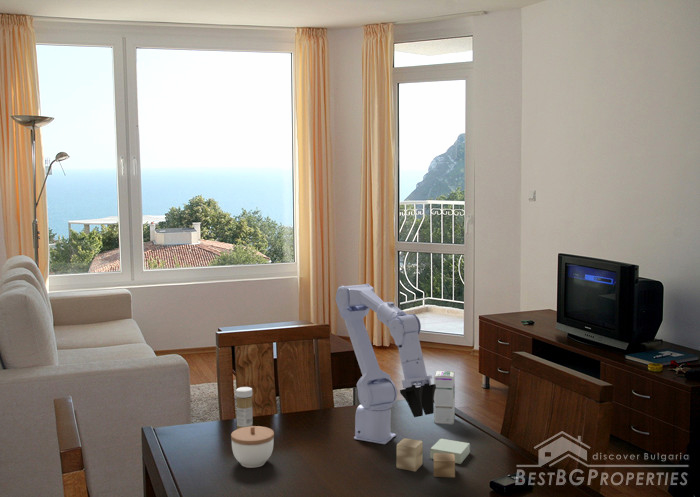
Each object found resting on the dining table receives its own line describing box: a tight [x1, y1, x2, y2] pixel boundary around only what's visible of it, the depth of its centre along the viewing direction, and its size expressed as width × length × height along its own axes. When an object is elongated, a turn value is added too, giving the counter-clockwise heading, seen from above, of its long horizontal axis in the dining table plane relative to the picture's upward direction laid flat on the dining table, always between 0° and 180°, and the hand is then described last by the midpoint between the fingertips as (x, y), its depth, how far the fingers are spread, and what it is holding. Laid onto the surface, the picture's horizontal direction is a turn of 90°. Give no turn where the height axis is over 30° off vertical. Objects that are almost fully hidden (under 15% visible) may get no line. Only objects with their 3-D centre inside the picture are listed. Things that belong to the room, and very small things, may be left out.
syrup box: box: [433, 370, 456, 425], centre depth 205 cm, size 6×6×14 cm
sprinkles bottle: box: [235, 386, 254, 430], centre depth 192 cm, size 5×5×13 cm
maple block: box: [395, 437, 424, 472], centre depth 172 cm, size 5×5×6 cm
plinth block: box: [430, 438, 471, 465], centre depth 179 cm, size 8×8×3 cm
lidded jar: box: [230, 425, 275, 469], centre depth 173 cm, size 11×11×9 cm
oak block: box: [433, 453, 456, 478], centre depth 168 cm, size 5×5×4 cm
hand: (424, 415), depth 172 cm, fingers open, 7 cm apart
